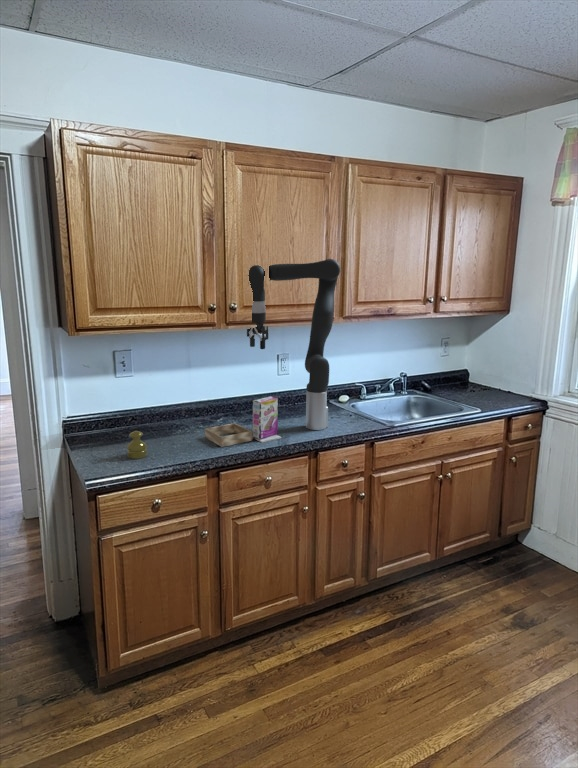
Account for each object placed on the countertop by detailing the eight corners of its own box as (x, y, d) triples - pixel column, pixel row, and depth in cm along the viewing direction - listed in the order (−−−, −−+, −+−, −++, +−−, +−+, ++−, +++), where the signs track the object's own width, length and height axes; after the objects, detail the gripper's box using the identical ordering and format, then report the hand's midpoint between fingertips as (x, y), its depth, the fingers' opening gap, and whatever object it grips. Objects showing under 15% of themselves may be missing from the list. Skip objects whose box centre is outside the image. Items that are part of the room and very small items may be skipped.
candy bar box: (260, 440, 221) (260, 402, 217) (252, 437, 224) (251, 400, 221) (278, 434, 229) (278, 397, 226) (270, 431, 232) (270, 395, 229)
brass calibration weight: (149, 452, 207) (147, 428, 205) (144, 459, 200) (143, 434, 198) (130, 452, 207) (128, 428, 205) (125, 459, 200) (123, 434, 198)
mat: (268, 432, 234) (268, 431, 233) (281, 438, 226) (281, 437, 225) (249, 436, 228) (249, 435, 228) (261, 442, 220) (261, 441, 220)
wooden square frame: (235, 431, 234) (234, 423, 233) (252, 440, 223) (252, 431, 222) (205, 437, 226) (205, 428, 225) (221, 446, 214) (221, 437, 213)
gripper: (273, 312, 229) (273, 349, 233) (255, 310, 241) (256, 345, 244) (258, 313, 225) (258, 350, 229) (241, 310, 236) (242, 346, 240)
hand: (257, 347), depth 236 cm, fingers open, 8 cm apart
